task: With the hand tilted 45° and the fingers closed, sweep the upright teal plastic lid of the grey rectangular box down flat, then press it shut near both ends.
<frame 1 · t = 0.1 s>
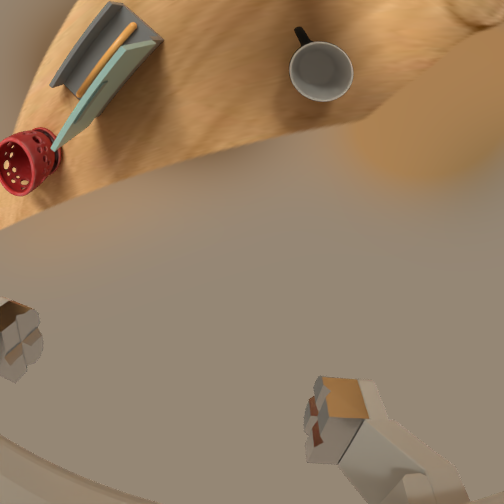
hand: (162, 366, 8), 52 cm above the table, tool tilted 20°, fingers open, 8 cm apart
grey rectangular box: (108, 60, 48), on the table
plant pot: (46, 147, 60), on the table
lid: (101, 93, 42), point 11 cm above the table, hinge at 95.0°
mug: (312, 59, 46), on the table
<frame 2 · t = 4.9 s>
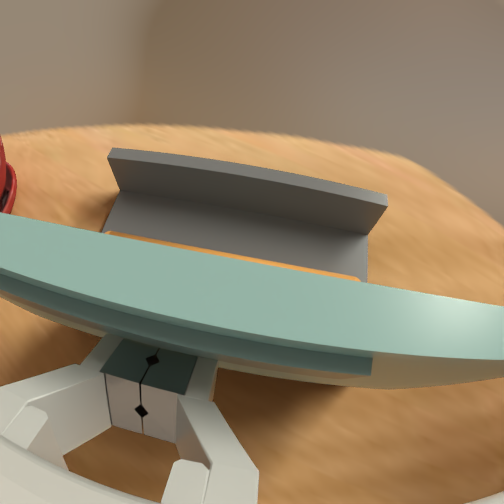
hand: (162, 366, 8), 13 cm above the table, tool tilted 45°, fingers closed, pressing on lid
grey rectangular box: (226, 275, 23), on the table
lid: (181, 339, 10), point 11 cm above the table, hinge at 93.3°, touching gripper
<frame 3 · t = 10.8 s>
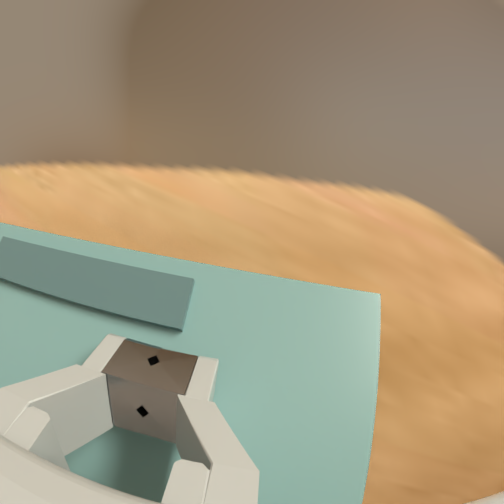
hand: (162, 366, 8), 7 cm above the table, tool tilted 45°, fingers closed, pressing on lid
lid: (42, 409, 8), point 6 cm above the table, hinge at -1.5°, touching grey rectangular box, gripper
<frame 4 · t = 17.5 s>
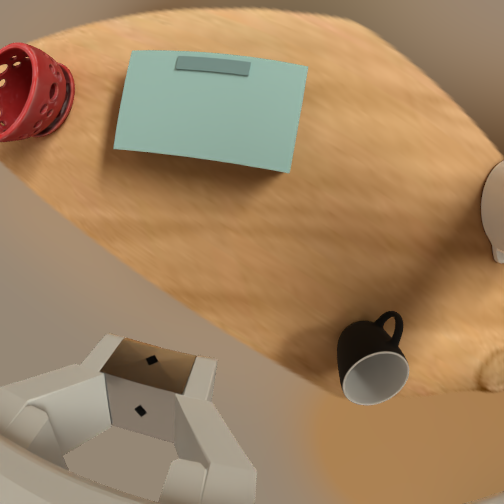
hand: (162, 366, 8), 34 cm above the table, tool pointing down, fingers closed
plant pot: (52, 98, 38), on the table
lid: (205, 104, 32), point 6 cm above the table, hinge at -1.4°
mug: (364, 330, 45), on the table
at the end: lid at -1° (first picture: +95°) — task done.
